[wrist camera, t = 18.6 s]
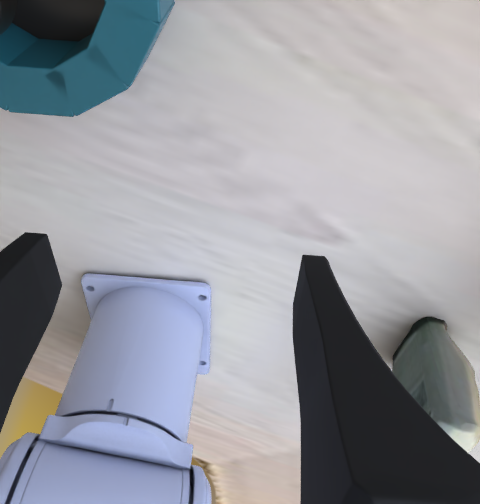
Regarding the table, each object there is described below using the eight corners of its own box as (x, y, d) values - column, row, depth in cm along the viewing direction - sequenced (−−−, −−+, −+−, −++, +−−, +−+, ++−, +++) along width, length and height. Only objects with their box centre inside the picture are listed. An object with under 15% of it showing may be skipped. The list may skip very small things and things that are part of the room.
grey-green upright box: (370, 320, 30) (393, 440, 24) (455, 303, 28) (502, 426, 22) (387, 369, 33) (410, 484, 27) (464, 356, 32) (506, 475, 26)
